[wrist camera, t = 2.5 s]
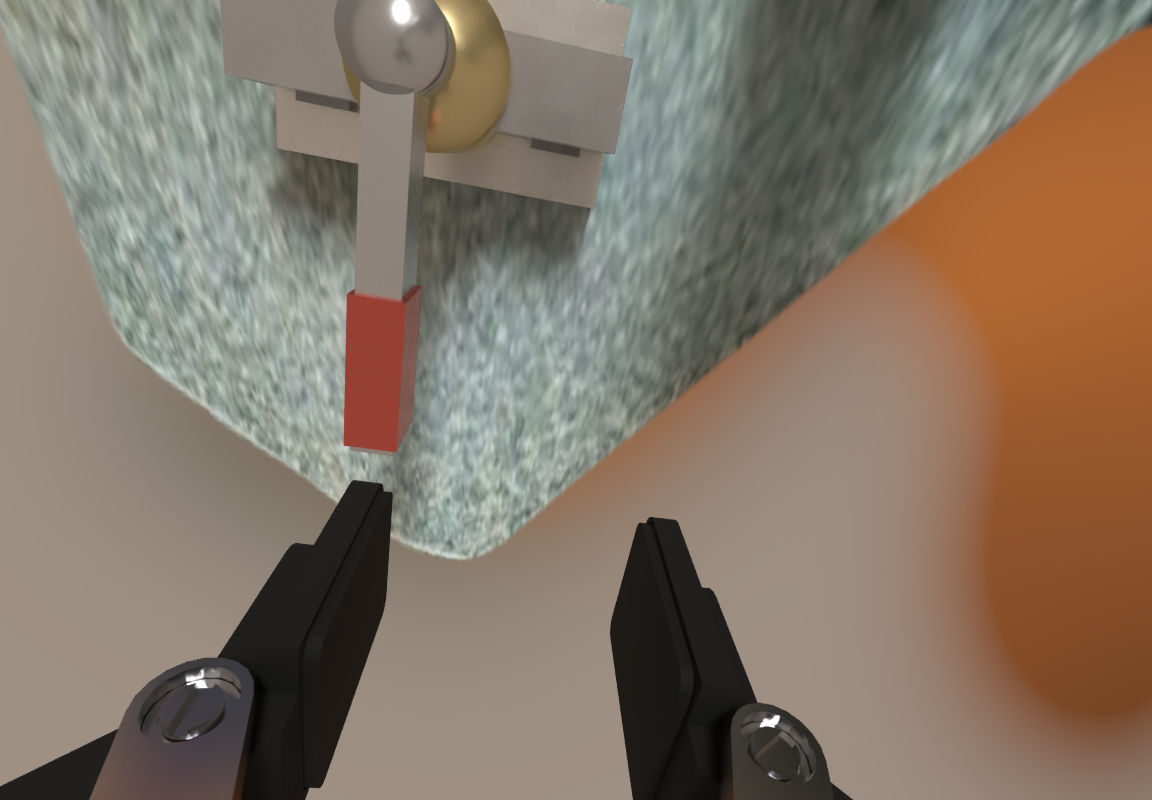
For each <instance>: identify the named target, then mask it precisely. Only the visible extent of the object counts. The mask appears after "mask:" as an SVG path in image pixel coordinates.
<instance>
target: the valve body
mask: <svg viewBox="0 0 1152 800" xmlns="http://www.w3.org/2000/svg"><path fill="white" fill-rule="evenodd" d="M434 1H435V2H436V3H437V5H438V6H439V8H440V9H441V11H442V12H443V13H444V15H445V16H446V18H447V20H448V21H449V23H450V26H451V28H452V30H453V34H454V37H455V42H456V51H457V53H456V64H455V68H454V72H453V74H452V77H451V79H450V81H449V82H448V84H447V85H446V87H445V88H444V89H443V90H442V91H441V92H440V93H439V94H437V95H436V96H434V97H432V98H430V99H429V108H428V122H427V136H426V150H425V164H424V177H429V178H435V179H440V180H445V181H450V182H455V183H461V184H466V185H471V186H476V187H482V188H487V189H492V190H497V191H502V192H508V193H513V194H518V195H523V196H529V197H534V198H539V199H544V200H549V201H555V202H560V203H565V204H570V205H576V206H581V207H586V208H591V209H594V206H595V200H596V195H597V190H598V184H599V179H600V174H601V168H602V163H603V158H604V154H615V150H616V145H617V140H618V135H619V129H620V124H621V119H622V114H623V109H624V104H625V99H626V93H627V88H628V83H629V78H630V73H631V68H632V62H633V59H631V58H626V57H622V56H623V51H624V46H625V40H626V35H627V30H628V24H629V19H630V14H631V8H626V7H622V6H618V5H614V4H610V3H605V2H601V1H597V0H434ZM220 2H221V19H222V37H223V55H224V72H225V74H227V75H231V76H235V77H239V78H243V79H246V80H250V81H254V82H258V83H262V84H266V85H271V86H276V125H277V148H278V149H283V150H288V151H293V152H299V153H304V154H309V155H314V156H320V157H325V158H330V159H335V160H341V161H346V162H351V163H356V164H358V159H359V123H360V87H361V80H360V79H359V78H358V77H357V76H356V75H355V74H354V73H353V72H352V71H351V70H350V68H349V67H348V65H347V64H346V62H345V61H344V59H343V57H342V55H341V53H340V50H339V48H338V45H337V41H336V37H335V31H334V13H335V8H336V3H337V0H220Z"/></svg>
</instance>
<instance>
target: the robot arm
mask: <svg viewBox="0 0 1152 800" xmlns="http://www.w3.org/2000/svg"><path fill="white" fill-rule="evenodd" d="M392 498H393V495H392V492H385V491H383V484H381V483H373V482H365V481H357V480H353V481H352V482H351V483H350V485H349V486H348V488H347V490H346V491H345V493H344V495H343V496H342V498H341V500H340V501H339V503H338V505H337V507H336V508H335V510H334V512H333V514H332V515H331V517H330V519H329V520H328V522H327V524H326V525H325V527H324V529H323V530H322V532H321V534H320V536H319V537H318V539H317V540H316V542H315V544H314V545H308V544H300V543H295V544H293V545H291V546H290V548H289V549H288V550H287V551H286V553H285V554H284V556H283V557H282V559H281V561H280V562H279V564H278V565H277V567H276V568H275V570H274V571H273V573H272V574H271V576H270V578H269V579H268V580H267V582H266V584H265V585H264V587H263V588H262V590H261V591H260V593H259V594H258V596H257V598H256V599H255V600H254V602H253V604H252V605H251V607H250V608H249V610H248V611H247V613H246V614H245V616H244V618H243V619H242V620H241V622H240V624H239V625H238V627H237V628H236V630H235V631H234V633H233V634H232V636H231V638H230V639H229V641H228V642H227V644H226V645H225V647H224V648H223V650H222V651H221V653H220V654H219V656H218V657H217V658H202V659H197V660H193V661H188V662H185V663H183V664H181V665H178V666H176V667H174V668H171V669H169V670H167V671H165V672H164V673H162V674H161V675H159V676H157V677H156V678H154V679H153V680H151V681H150V682H149V683H148V684H147V685H146V686H145V687H144V688H143V689H142V690H141V691H140V692H139V693H138V694H136V695H135V697H134V699H133V700H132V702H131V704H130V705H129V707H128V708H127V710H126V712H125V715H124V717H123V720H122V722H121V724H120V726H119V729H117V730H115V731H113V732H111V733H109V734H106V735H104V736H102V737H100V738H98V739H96V740H94V741H92V742H90V743H88V744H86V745H84V746H82V747H80V748H78V749H76V750H74V751H72V752H70V753H68V754H66V755H64V756H61V757H59V758H57V759H55V760H53V761H51V762H49V763H47V764H45V765H43V766H41V767H39V768H37V769H35V770H33V771H31V772H29V773H27V774H25V775H23V776H21V777H19V778H16V779H14V780H13V781H10V782H8V783H6V784H4V785H2V786H0V800H305V799H306V796H307V793H308V790H309V788H320V787H321V786H322V784H323V782H324V780H325V777H326V775H327V772H328V769H329V766H330V763H331V760H332V758H333V755H334V752H335V749H336V746H337V743H338V740H339V738H340V735H341V732H342V729H343V726H344V723H345V721H346V717H347V715H348V712H349V709H350V706H351V703H352V700H353V698H354V695H355V692H356V689H357V686H358V683H359V680H360V678H361V675H362V672H363V669H364V666H365V663H366V661H367V658H368V655H369V652H370V649H371V646H372V643H373V641H374V638H375V635H376V632H377V629H378V626H379V624H380V621H381V618H382V615H383V611H384V607H385V602H386V592H387V576H388V561H389V545H390V530H391V515H392ZM610 637H611V645H612V653H613V660H614V667H615V674H616V681H617V688H618V696H619V703H620V710H621V717H622V724H623V732H624V739H625V746H626V753H627V760H628V768H629V774H630V782H631V789H632V796H633V800H853V799H851V798H850V797H849V796H848V795H846V794H845V793H843V792H842V791H841V790H840V789H839V788H837V787H836V786H835V785H833V784H832V783H831V781H830V777H829V772H828V767H827V763H826V759H825V756H824V754H823V751H822V748H821V747H820V745H819V743H818V741H817V740H816V738H815V737H814V736H813V734H812V733H811V732H810V731H809V729H808V728H807V727H806V726H805V725H804V724H803V723H802V722H801V721H799V720H798V719H797V718H795V717H794V716H792V715H791V714H790V713H788V712H787V711H785V710H782V709H780V708H778V707H776V706H773V705H769V704H763V703H757V700H756V697H755V695H754V692H753V690H752V687H751V685H750V682H749V680H748V677H747V674H746V672H745V670H744V667H743V664H742V662H741V660H740V657H739V654H738V652H737V649H736V646H735V644H734V642H733V639H732V636H731V634H730V631H729V628H728V626H727V623H726V621H725V618H724V616H723V613H722V611H721V608H720V605H719V603H718V601H717V598H716V596H715V594H714V592H713V591H712V590H711V589H710V588H702V587H701V584H700V581H699V579H698V576H697V573H696V570H695V568H694V565H693V562H692V559H691V557H690V554H689V551H688V548H687V546H686V543H685V540H684V538H683V535H682V532H681V529H680V527H679V524H678V522H677V521H676V520H671V519H663V518H655V517H650V518H648V520H647V522H646V523H639V524H638V526H637V529H636V532H635V536H634V539H633V543H632V547H631V551H630V554H629V558H628V561H627V565H626V568H625V572H624V576H623V579H622V583H621V587H620V591H619V594H618V598H617V601H616V605H615V608H614V612H613V616H612V620H611V627H610Z"/></svg>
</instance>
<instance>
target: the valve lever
mask: <svg viewBox="0 0 1152 800" xmlns="http://www.w3.org/2000/svg"><path fill="white" fill-rule="evenodd" d="M334 31H335V37H336V41H337V45H338V48H339V50H340V53H341V55H342V57H343V59H344V61H345V62H346V64H347V65H348V67H349V68H350V70H351V71H352V72H353V73H354V74H355V75H356V76H357V77H358V78H359V79H360V80H361V87H360V123H359V159H358V195H357V231H356V268H355V289H354V290H352V291H351V292H349V293H348V294H347V317H346V363H345V408H344V446H351V448H350V450H351V451H359V452H366V453H374V454H382V455H389V456H392V455H393V453H394V452H397V450H398V448H399V446H400V444H401V442H402V440H403V438H404V436H405V434H406V432H407V430H408V428H409V426H410V424H411V422H412V413H413V400H414V386H415V373H416V360H417V346H418V333H419V320H420V307H421V293H422V286H416V277H417V263H418V249H419V235H420V221H421V207H422V193H423V178H424V164H425V150H426V136H427V122H428V108H429V99H430V98H432V97H434V96H436V95H437V94H439V93H440V92H441V91H442V90H443V89H444V88H445V87H446V85H447V84H448V82H449V81H450V79H451V77H452V74H453V72H454V68H455V64H456V53H457V51H456V42H455V37H454V34H453V30H452V28H451V26H450V23H449V21H448V20H447V18H446V16H445V15H444V13H443V12H442V11H441V9H440V8H439V6H438V5H437V3H436V2H435V1H434V0H337V3H336V8H335V13H334Z"/></svg>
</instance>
